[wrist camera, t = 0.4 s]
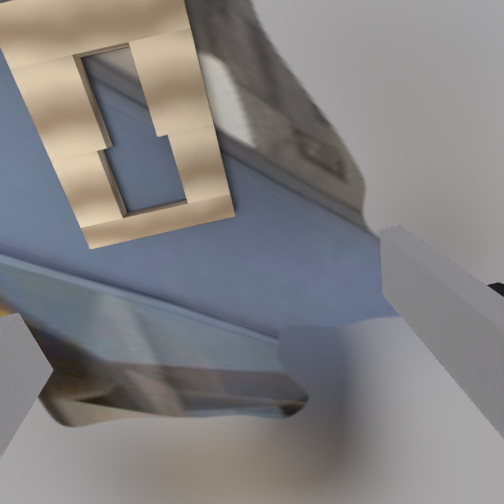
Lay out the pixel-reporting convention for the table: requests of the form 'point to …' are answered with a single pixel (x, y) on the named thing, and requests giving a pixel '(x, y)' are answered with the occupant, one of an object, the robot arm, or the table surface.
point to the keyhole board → (89, 116)
